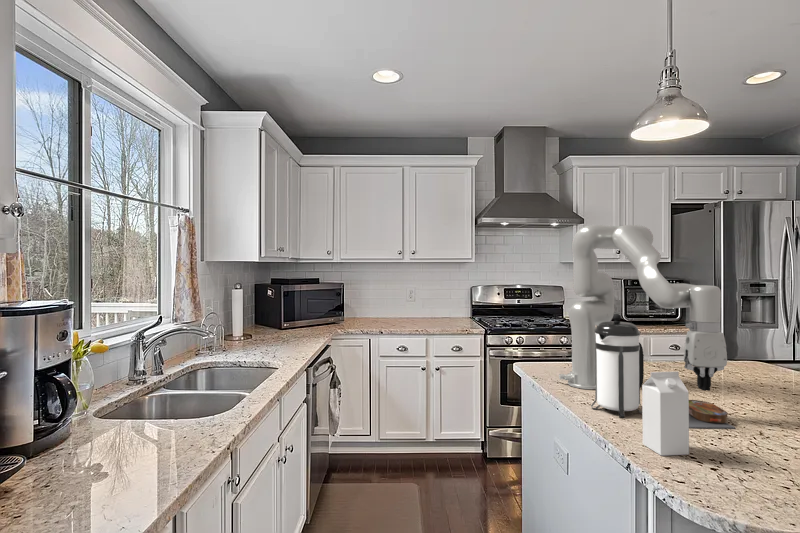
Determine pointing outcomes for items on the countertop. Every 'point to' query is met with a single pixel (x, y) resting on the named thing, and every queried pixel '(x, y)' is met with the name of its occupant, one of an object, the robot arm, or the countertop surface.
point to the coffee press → (618, 366)
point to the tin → (707, 412)
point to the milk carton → (665, 414)
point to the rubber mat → (707, 424)
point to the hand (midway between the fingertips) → (703, 389)
